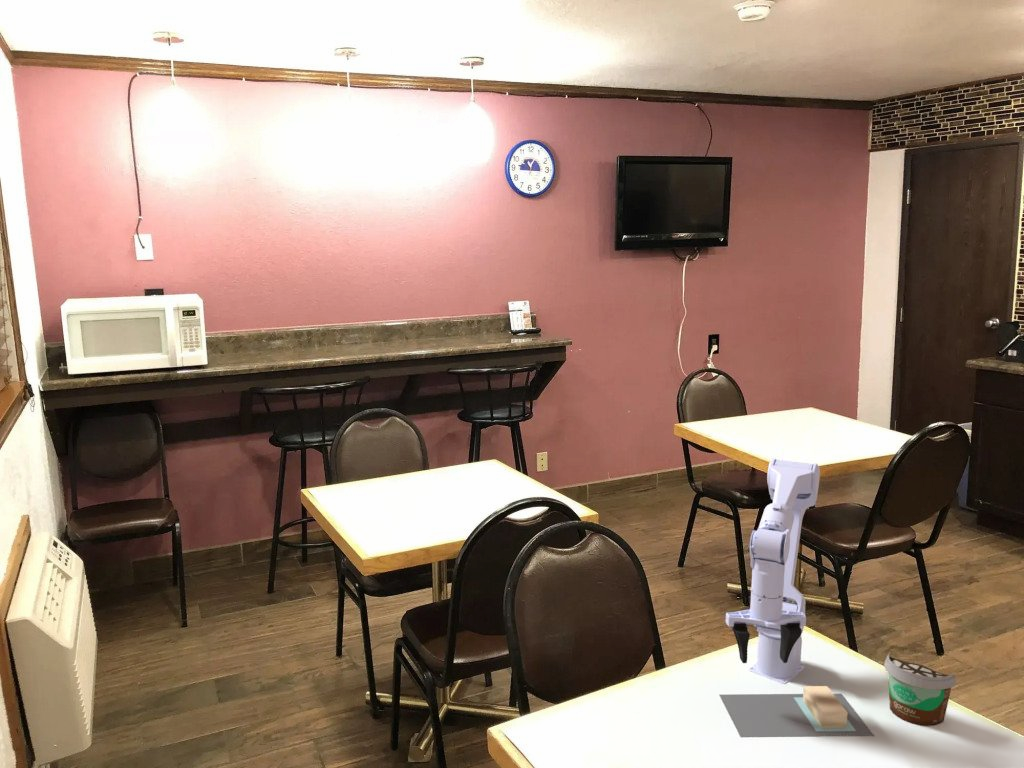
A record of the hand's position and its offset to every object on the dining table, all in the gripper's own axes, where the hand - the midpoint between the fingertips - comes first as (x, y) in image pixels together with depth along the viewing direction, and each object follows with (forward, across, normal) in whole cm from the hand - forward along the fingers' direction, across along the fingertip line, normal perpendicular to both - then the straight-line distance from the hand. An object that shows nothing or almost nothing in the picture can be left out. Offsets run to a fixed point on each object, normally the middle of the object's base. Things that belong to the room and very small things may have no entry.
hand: (763, 660), depth 153 cm
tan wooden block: (+9, +11, -4) cm, 14 cm away
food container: (+10, +27, -4) cm, 29 cm away
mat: (+9, +5, -4) cm, 11 cm away
